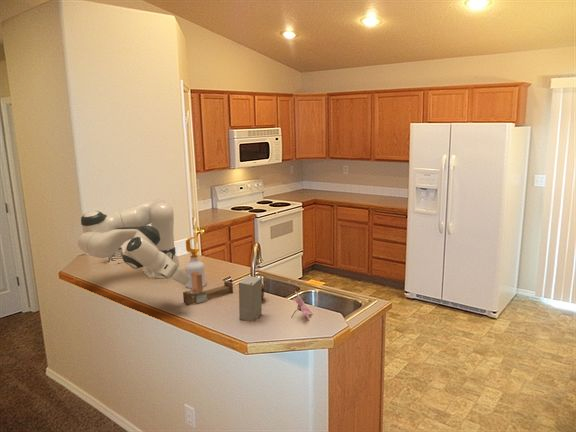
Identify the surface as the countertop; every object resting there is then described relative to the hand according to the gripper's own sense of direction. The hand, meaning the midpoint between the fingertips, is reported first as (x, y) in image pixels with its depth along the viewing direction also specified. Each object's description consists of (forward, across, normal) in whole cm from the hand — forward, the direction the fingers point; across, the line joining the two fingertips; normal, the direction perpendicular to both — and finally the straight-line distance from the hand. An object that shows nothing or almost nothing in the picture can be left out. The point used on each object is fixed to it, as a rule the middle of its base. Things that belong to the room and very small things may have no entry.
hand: (185, 282), depth 198 cm
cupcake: (+24, +17, +10) cm, 31 cm away
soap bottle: (+17, -19, +3) cm, 26 cm away
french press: (+7, -89, -7) cm, 90 cm away
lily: (+26, +45, +12) cm, 54 cm away
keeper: (+11, 0, -3) cm, 11 cm away
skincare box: (+16, +31, +2) cm, 35 cm away
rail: (+14, 0, +1) cm, 14 cm away
